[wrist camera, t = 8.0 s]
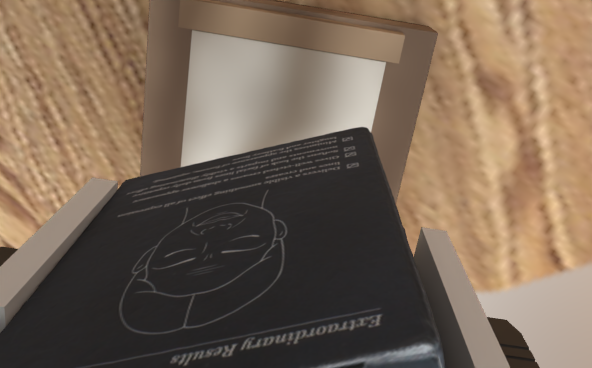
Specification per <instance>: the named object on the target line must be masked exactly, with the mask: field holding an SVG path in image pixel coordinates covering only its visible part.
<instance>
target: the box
mask: <svg viewBox="0 0 592 368" xmlns="http://www.w3.org/2000/svg"><path fill="white" fill-rule="evenodd" d="M0 368H445V360H444V353H443V346H442V343H441V339H440V335H439V332H438V329H437V327H436V324H435V321H434V318H433V314H432V310H431V307H430V304H429V301H428V298H427V295H426V291H425V289H424V287H423V284H422V280H421V278H420V275H419V271H418V268H417V265H416V263H415V261H414V257H413V254H412V252H411V249H410V247H409V244H408V241H407V237H406V233H405V229H404V227H403V226H402V223H401V220H400V216H399V213H398V210H397V207H396V204H395V200H394V197H393V195H392V191H391V188H390V186H389V182H388V181H387V177H386V174H385V171H384V169H383V165H382V163H381V160H380V157H379V155H378V150H377V147H376V144H375V142H374V137H373V135H372V133H371V132H370V131H369V129H368V128H366V127H358V128H352V129H347V130H343V131H338V132H333V133H329V134H325V135H321V136H316V137H312V138H307V139H303V140H298V141H293V142H290V143H285V144H280V145H276V146H272V147H266V148H263V149H259V150H254V151H249V152H246V153H242V154H237V155H232V156H227V157H223V158H218V159H214V160H210V161H206V162H202V163H197V164H192V165H188V166H184V167H180V168H175V169H171V170H167V171H162V172H157V173H153V174H149V175H145V176H141V177H137V178H133V179H128V180H126V181H125V182H124V183H122V185H121V186H120V188H119V189H118V190H117V191H116V193H115V194H114V195H113V196H112V198H111V199H110V200H109V201H108V202H107V203H106V205H105V206H104V207H103V208H102V210H101V211H100V212H99V213H98V215H97V216H96V217H95V218H94V220H93V221H92V222H91V223H90V224H89V225H88V227H87V228H86V229H85V230H84V232H83V233H82V234H81V235H80V237H79V238H78V239H77V240H76V242H75V243H74V244H73V245H72V246H71V247H70V249H69V250H68V251H67V253H66V254H65V255H64V256H63V257H62V258H61V260H60V261H59V262H58V264H57V265H56V266H55V267H54V269H53V270H52V271H51V272H50V273H49V274H48V276H47V277H46V278H45V279H44V281H43V282H42V283H41V284H40V285H39V286H38V288H37V289H36V290H35V292H34V293H33V294H32V295H31V296H30V298H29V299H28V300H27V301H26V302H25V303H24V304H23V306H22V307H21V308H20V310H19V311H18V312H17V313H16V314H15V316H14V317H13V318H12V319H11V321H10V322H9V323H8V325H7V326H6V327H5V328H4V329H3V331H2V332H1V333H0Z"/></svg>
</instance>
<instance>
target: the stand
mask: <svg viewBox="0 0 592 368" xmlns="http://www.w3.org/2000/svg"><path fill="white" fill-rule="evenodd" d="M437 35H438V33H437V32H436V31H434V30H433V29H431V28H430V27H429V26H423V25H417V24H412V23H406V22H400V21H394V20H388V19H382V18H376V17H370V16H364V15H358V14H352V13H346V12H340V11H334V10H328V9H322V8H316V7H310V6H304V5H298V4H292V3H286V2H280V1H274V0H150V5H149V24H148V42H147V60H146V79H145V97H144V115H143V134H142V152H141V170H140V177H141V176H145V175H149V174H153V173H157V172H162V171H167V170H171V169H175V168H180V167H184V166H188V165H192V164H197V163H202V162H206V161H210V160H214V159H218V158H223V157H227V156H232V155H237V154H242V153H246V152H249V151H254V150H259V149H263V148H266V147H272V146H276V145H280V144H285V143H290V142H293V141H298V140H303V139H307V138H312V137H316V136H321V135H325V134H329V133H333V132H338V131H343V130H347V129H352V128H358V127H366V128H368V129H369V131H370V132H371V133H372V135H373V137H374V142H375V144H376V147H377V150H378V155H379V157H380V160H381V163H382V165H383V169H384V171H385V174H386V177H387V181H388V182H389V186H390V188H391V191H392V195H393V197H394V200H395V204H396V201H397V197H398V193H399V189H400V185H401V181H402V177H403V173H404V168H405V164H406V160H407V156H408V152H409V148H410V144H411V140H412V136H413V132H414V128H415V124H416V120H417V116H418V112H419V108H420V104H421V100H422V96H423V92H424V88H425V84H426V80H427V76H428V72H429V68H430V64H431V59H432V55H433V51H434V47H435V43H436V39H437Z"/></svg>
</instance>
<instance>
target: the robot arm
mask: <svg viewBox="0 0 592 368" xmlns="http://www.w3.org/2000/svg"><path fill="white" fill-rule="evenodd" d="M117 189H118V181H112V180H106V179H99V178H91V179H90V180H89V181H88V182H87V183H86V184H85V185H84V186H83V187H82V188H81V189H80V190H79V191H78V192H77V193H76V194H75V195H74V196H73V197H72V198H71V199H70V200H69V201H68V202H67V203H66V204H65V205H63V206H62V207H61V208H60V209H59V210H58V211H57V212H56V213H55V214H54V215H53V216H52V217H51V218H50V219H49V220H48V221H47V222H46V223H45V224H44V225H43V226H42V227H41V228H40V229H39V230H38V231H37V232H36V233H35V234H34V235H32V236H31V237H30V238H29V239H28V240H27V241H26V242H25V243H24V244H23V245H22V246H21V247H20V248H19V249H14V248H7V247H0V333H1V332H2V331H3V329H4V328H5V327H6V326H7V325H8V323H9V322H10V321H11V319H12V318H13V317H14V316H15V314H16V313H17V312H18V311H19V310H20V308H21V307H22V306H23V304H24V303H25V302H26V301H27V300H28V299H29V298H30V296H31V295H32V294H33V293H34V292H35V290H36V289H37V288H38V286H39V285H40V284H41V283H42V282H43V281H44V279H45V278H46V277H47V276H48V274H49V273H50V272H51V271H52V270H53V269H54V267H55V266H56V265H57V264H58V262H59V261H60V260H61V258H62V257H63V256H64V255H65V254H66V253H67V251H68V250H69V249H70V247H71V246H72V245H73V244H74V243H75V242H76V240H77V239H78V238H79V237H80V235H81V234H82V233H83V232H84V230H85V229H86V228H87V227H88V225H89V224H90V223H91V222H92V221H93V220H94V218H95V217H96V216H97V215H98V213H99V212H100V211H101V210H102V208H103V207H104V206H105V205H106V203H107V202H108V201H109V200H110V199H111V198H112V196H113V195H114V194H115V193H116V191H117ZM414 261H415V263H416V265H417V268H418V271H419V275H420V278H421V280H422V284H423V287H424V289H425V291H426V295H427V298H428V301H429V304H430V307H431V310H432V314H433V318H434V321H435V324H436V327H437V329H438V332H439V335H440V339H441V343H442V346H443V353H444V360H445V368H539V366H538V364H537V362H535V359H534V357H533V355H532V353H531V351H530V350H529V347H528V345H527V343H526V342H525V340H524V338H523V336H522V334H521V333H520V332H519V331H518V330H517V329H516V328H515V327H513V326H512V325H511V324H510V323H509V322H508V321H507V320H503V319H496V318H490V317H486V315H485V313H484V310H483V308H482V306H481V304H480V302H479V300H478V298H477V295H476V293H475V291H474V289H473V287H472V285H471V283H470V281H469V278H468V276H467V274H466V272H465V270H464V268H463V266H462V263H461V261H460V259H459V257H458V255H457V253H456V251H455V249H454V246H453V244H452V242H451V240H450V238H449V236H448V234H447V231H443V230H437V229H430V228H424V227H421V231H420V235H419V239H418V243H417V247H416V251H415V254H414Z"/></svg>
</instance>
